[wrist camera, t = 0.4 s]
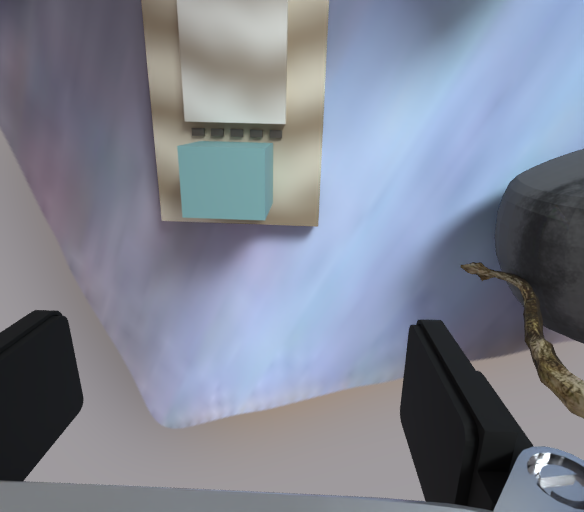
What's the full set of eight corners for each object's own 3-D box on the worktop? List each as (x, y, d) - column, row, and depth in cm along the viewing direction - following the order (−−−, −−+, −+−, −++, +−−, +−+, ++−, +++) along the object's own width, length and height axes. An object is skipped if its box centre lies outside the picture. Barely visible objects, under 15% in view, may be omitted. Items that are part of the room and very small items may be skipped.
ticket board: (150, -8, 30) (133, -21, 28) (328, -6, 30) (330, -19, 27) (169, 215, 36) (157, 223, 34) (317, 220, 36) (318, 229, 33)
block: (200, 140, 32) (177, 145, 26) (273, 142, 32) (265, 148, 26) (204, 200, 34) (182, 217, 28) (272, 203, 33) (265, 220, 28)
